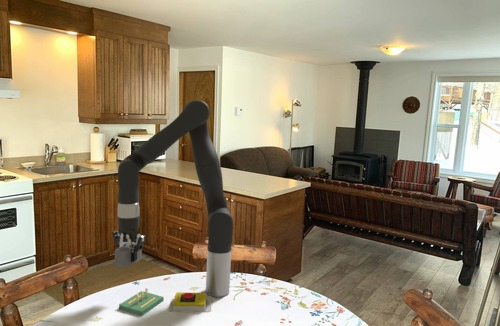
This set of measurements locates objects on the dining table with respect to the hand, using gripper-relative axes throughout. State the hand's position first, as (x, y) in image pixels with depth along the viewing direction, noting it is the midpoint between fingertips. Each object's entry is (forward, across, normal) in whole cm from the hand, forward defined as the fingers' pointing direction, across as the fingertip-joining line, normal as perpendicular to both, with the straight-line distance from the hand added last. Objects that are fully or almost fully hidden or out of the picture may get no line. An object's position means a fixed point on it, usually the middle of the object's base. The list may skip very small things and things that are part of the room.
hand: (128, 260), depth 136 cm
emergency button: (+16, -22, -7) cm, 28 cm away
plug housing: (+1, 0, 0) cm, 1 cm away
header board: (+15, -7, +1) cm, 16 cm away
